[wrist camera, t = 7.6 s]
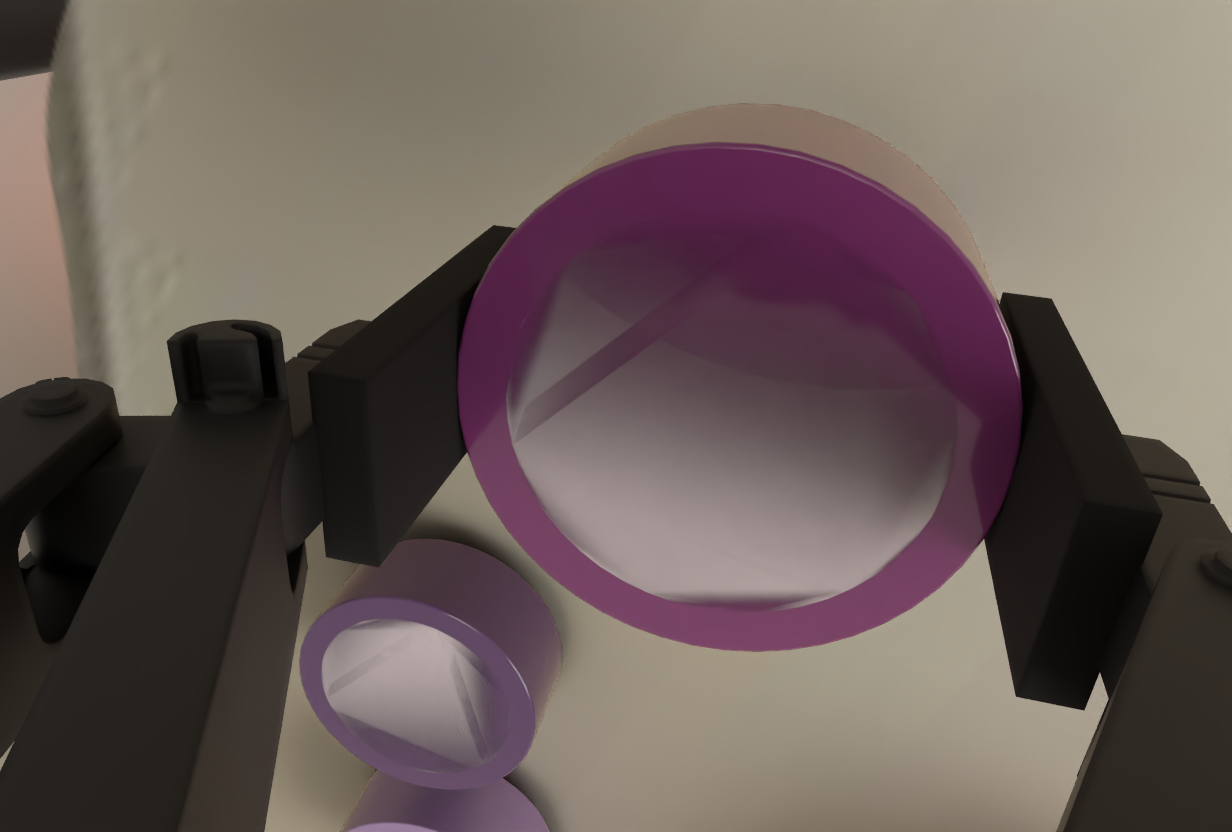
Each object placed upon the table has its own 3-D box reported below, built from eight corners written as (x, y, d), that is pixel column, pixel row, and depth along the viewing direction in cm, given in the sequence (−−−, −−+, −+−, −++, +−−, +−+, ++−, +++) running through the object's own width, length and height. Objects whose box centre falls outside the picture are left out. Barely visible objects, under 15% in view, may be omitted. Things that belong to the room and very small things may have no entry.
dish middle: (362, 680, 36) (309, 761, 32) (347, 505, 32) (286, 574, 29) (565, 725, 35) (532, 814, 31) (573, 548, 31) (537, 626, 27)
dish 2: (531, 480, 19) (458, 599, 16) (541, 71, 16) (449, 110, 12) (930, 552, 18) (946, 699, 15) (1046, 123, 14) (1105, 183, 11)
